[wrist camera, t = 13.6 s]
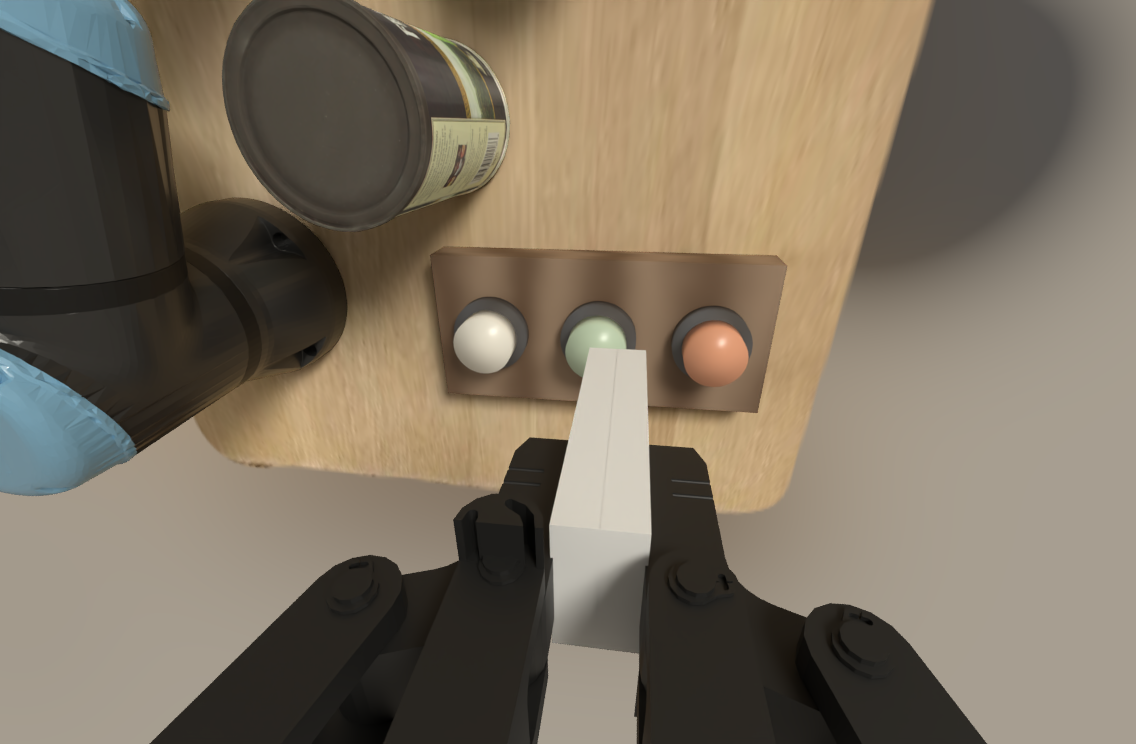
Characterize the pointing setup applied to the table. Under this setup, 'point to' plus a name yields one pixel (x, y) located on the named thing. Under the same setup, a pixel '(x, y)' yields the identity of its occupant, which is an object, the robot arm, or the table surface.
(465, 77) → the coffee can
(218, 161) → the table surface
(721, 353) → the button terracotta
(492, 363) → the button cream
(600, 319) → the button green
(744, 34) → the table surface
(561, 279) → the button panel
